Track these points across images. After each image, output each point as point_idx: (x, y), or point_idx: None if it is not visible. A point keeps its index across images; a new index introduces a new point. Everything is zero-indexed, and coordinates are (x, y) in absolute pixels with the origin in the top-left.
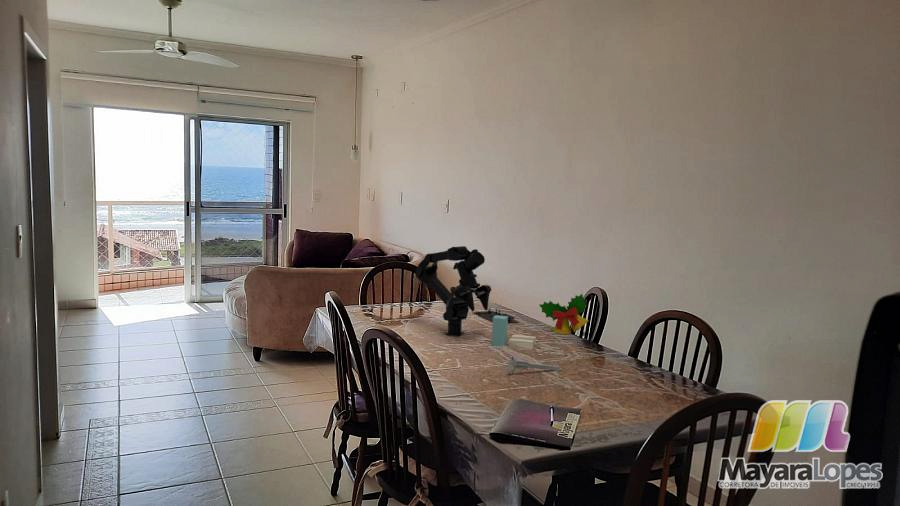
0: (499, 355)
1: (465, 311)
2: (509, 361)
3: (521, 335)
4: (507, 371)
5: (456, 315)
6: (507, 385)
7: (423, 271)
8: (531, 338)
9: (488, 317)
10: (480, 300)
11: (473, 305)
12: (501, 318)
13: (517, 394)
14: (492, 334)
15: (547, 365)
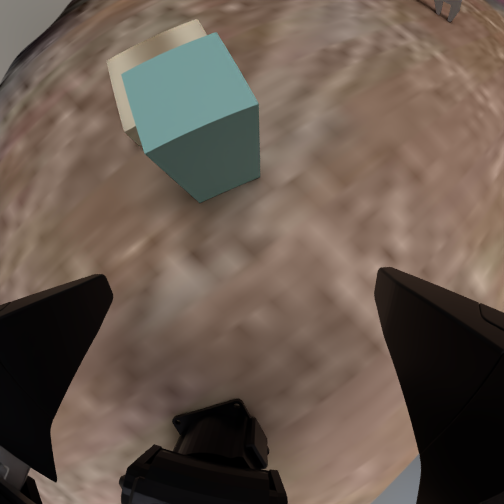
0: (363, 76)
1: (181, 466)
2: (460, 2)
3: (117, 101)
4: (452, 19)
5: (266, 473)
6: (478, 17)
7: None
8: (142, 50)
9: None
10: (54, 409)
11: (422, 282)
12: (223, 53)
13: (481, 4)
14: (259, 155)
15: None
